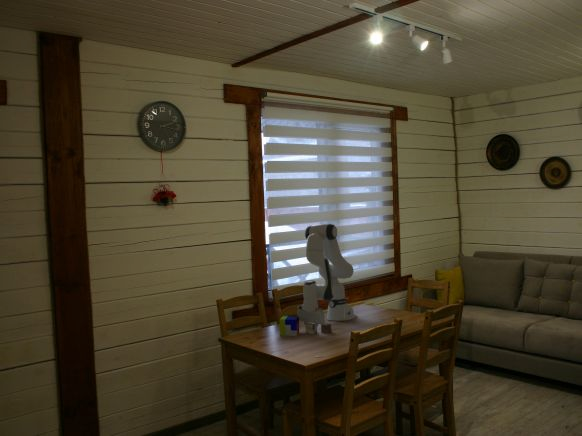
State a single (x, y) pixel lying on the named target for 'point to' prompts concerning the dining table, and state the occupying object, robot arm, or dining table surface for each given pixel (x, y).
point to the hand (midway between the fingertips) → (311, 329)
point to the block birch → (310, 328)
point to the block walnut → (326, 327)
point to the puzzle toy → (289, 326)
